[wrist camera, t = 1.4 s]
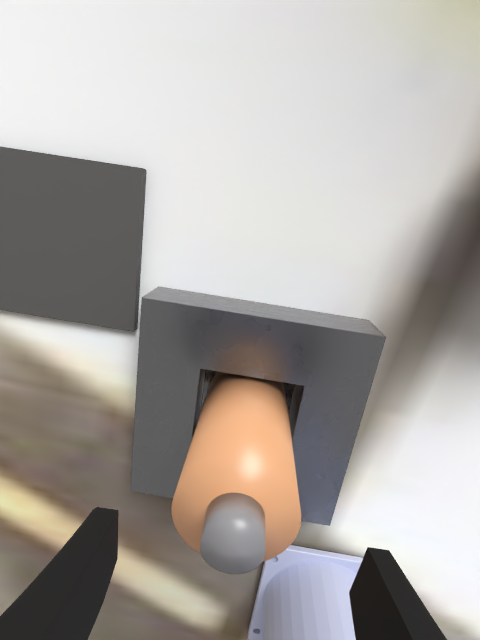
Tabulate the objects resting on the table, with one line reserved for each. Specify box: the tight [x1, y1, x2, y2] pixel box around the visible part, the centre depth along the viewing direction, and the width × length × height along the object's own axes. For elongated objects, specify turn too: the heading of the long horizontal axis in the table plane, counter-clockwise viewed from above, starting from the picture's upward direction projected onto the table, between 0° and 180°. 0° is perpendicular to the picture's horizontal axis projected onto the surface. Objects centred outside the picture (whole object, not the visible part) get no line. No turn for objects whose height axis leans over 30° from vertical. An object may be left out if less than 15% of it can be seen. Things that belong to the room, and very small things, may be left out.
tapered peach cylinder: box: [172, 372, 301, 574], centre depth 15 cm, size 4×4×9 cm
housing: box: [130, 287, 386, 526], centre depth 18 cm, size 11×11×2 cm
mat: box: [0, 147, 146, 331], centre depth 17 cm, size 8×8×1 cm
